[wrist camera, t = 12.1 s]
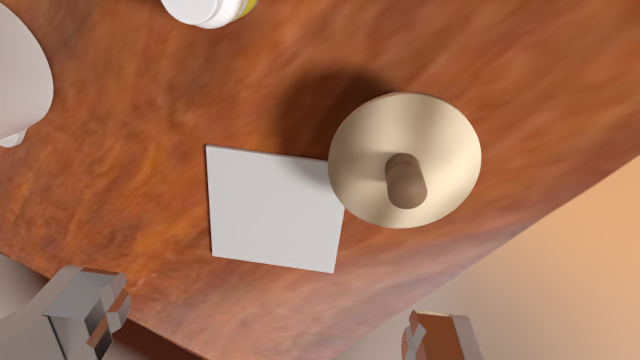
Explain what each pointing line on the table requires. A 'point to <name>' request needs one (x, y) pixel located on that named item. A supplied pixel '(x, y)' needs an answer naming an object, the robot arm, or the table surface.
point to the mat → (272, 208)
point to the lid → (404, 160)
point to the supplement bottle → (208, 11)
